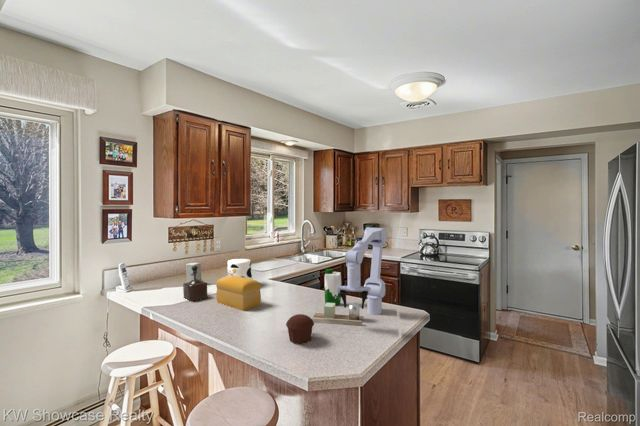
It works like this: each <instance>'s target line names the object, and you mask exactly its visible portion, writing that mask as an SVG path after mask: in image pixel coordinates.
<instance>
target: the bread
mask: <svg viewBox="0 0 640 426" xmlns="http://www.w3.org/2000/svg"><path fill="white" fill-rule="evenodd" d="M261 285H262V284H261V283H260V282H259V281H258V280H255V279H248V278H244V277H239V276H233V275H230V276H227V275H226V276H223V277H220V278H219V279H218V280H216V283H215V288H216V302H217V303H218V304H220V303H221V304H220V305H223V304H224V305H223V306H226V305H227V306H226V307H229V306H230V307H229V308H232V307H233V309H235V308H236V310H238V309H239V311H242V312H244V311H245V312H246V311H248V310H250V309H253V308H256V307H257V308H258V307H259V306H261V304H262V303H261V302H262V295H261V293H262V292H261V289H262V286H261Z"/></svg>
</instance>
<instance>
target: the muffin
mask: <svg viewBox="0 0 640 426" xmlns="http://www.w3.org/2000/svg"><path fill="white" fill-rule="evenodd" d="M310 317H311V316H309V315H306V314H302V313H301V314H294V315H292V316H290V317H289V318H288V320H287V321H286V323H285V326H286V327H287V331H288V336H289V337H288V338H289V342H291V343H293V344H296V345H302V344H303V345H304V344H307V343H309V342H311V340H312V334H313V333H312V332H313V327H314V325H315V322H313V320H312V319H311V318H310Z"/></svg>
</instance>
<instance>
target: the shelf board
mask: <svg viewBox="0 0 640 426" xmlns="http://www.w3.org/2000/svg"><path fill="white" fill-rule="evenodd" d="M309 317H310V318H311V319H312V320H313V322H314V323H321V324H334V325H347V326H348V325H349V326H360V327H361V326H362V325H363V320H364V315H362V316H361V315H360V320H349V314H348V315H347V314H337V313H335V317H334V319H332V318H324V313H323V312H322V313H320V312H316V313H314V315H313V316H309Z"/></svg>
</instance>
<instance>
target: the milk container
mask: <svg viewBox="0 0 640 426" xmlns="http://www.w3.org/2000/svg"><path fill="white" fill-rule="evenodd" d="M251 261H252V260H251V259H249V258H234V259H229V260H227V275H226V276H230V275H233V276H239V277H244V278H248V279H253V275H252V262H251ZM253 280H254V279H253Z"/></svg>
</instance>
